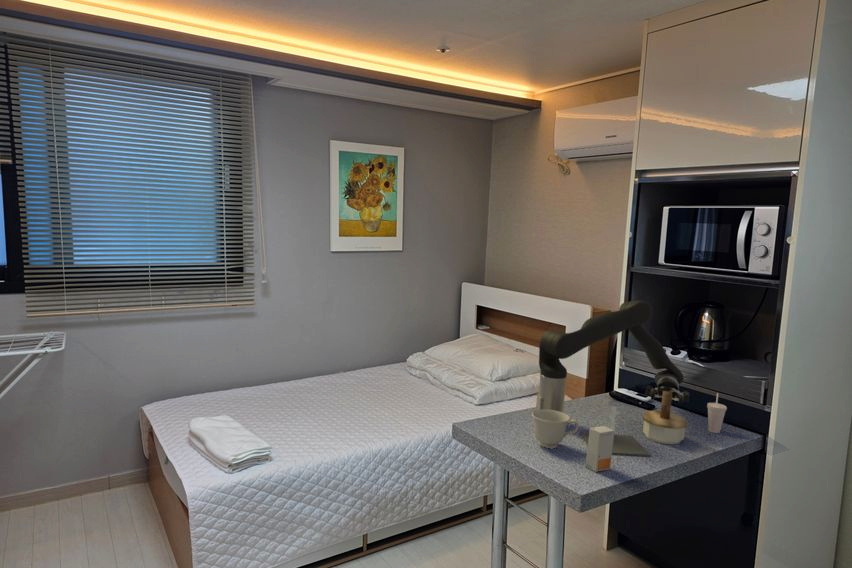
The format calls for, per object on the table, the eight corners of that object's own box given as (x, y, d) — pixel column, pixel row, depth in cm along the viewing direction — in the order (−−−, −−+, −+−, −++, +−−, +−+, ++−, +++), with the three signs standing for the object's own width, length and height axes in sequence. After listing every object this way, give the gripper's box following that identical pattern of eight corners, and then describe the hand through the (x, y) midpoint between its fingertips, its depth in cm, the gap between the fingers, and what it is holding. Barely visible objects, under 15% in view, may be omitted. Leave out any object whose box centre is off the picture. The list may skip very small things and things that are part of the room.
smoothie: (719, 428, 205) (723, 391, 203) (727, 435, 198) (731, 397, 197) (701, 427, 205) (705, 390, 204) (708, 433, 199) (712, 395, 197)
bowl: (652, 444, 186) (654, 426, 185) (638, 430, 198) (640, 414, 197) (688, 446, 186) (690, 428, 185) (672, 432, 198) (674, 416, 197)
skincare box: (595, 473, 160) (599, 432, 159) (585, 466, 164) (588, 427, 163) (611, 469, 163) (615, 430, 162) (600, 463, 167) (604, 425, 166)
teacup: (574, 457, 170) (577, 426, 169) (526, 448, 175) (528, 417, 174) (578, 444, 182) (581, 414, 180) (532, 435, 187) (535, 406, 186)
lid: (652, 427, 184) (655, 397, 183) (636, 413, 198) (639, 385, 197) (694, 429, 184) (697, 400, 183) (675, 415, 198) (678, 387, 197)
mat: (593, 453, 175) (593, 451, 174) (579, 434, 190) (579, 432, 190) (650, 456, 175) (650, 454, 175) (631, 437, 191) (632, 435, 190)
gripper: (648, 374, 211) (646, 384, 197) (689, 381, 205) (690, 391, 191) (646, 393, 212) (643, 405, 197) (687, 400, 206) (687, 413, 192)
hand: (666, 398), depth 194 cm, fingers open, 8 cm apart
